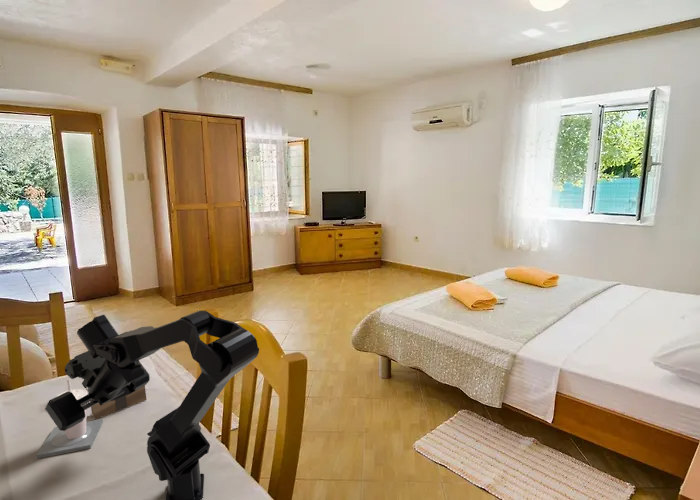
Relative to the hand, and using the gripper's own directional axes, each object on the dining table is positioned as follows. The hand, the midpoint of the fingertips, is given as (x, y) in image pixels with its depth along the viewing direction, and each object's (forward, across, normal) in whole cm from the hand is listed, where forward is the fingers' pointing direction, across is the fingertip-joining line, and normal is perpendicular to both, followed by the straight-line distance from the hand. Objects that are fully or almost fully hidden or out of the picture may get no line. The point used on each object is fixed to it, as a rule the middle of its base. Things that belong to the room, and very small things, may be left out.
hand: (89, 410), depth 86 cm
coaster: (+12, 0, +1) cm, 12 cm away
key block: (+14, -13, -1) cm, 19 cm away
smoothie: (+11, 0, 0) cm, 11 cm away
